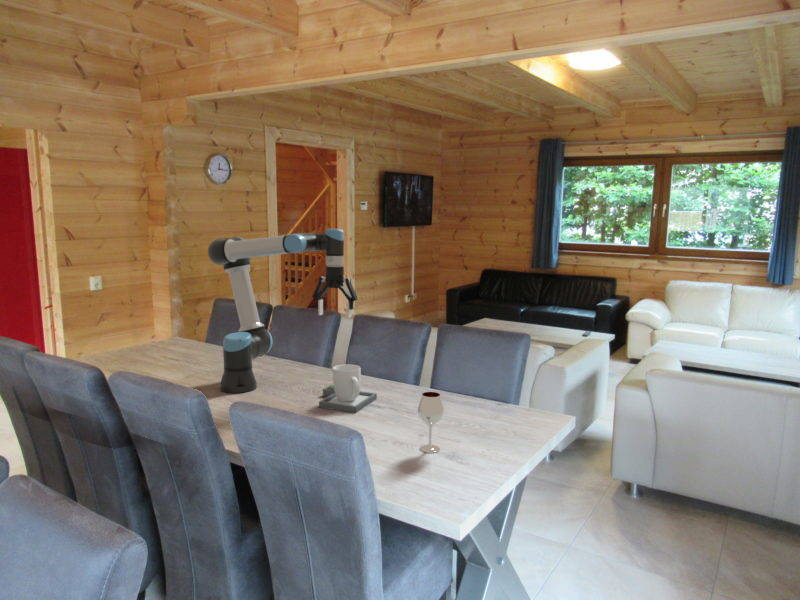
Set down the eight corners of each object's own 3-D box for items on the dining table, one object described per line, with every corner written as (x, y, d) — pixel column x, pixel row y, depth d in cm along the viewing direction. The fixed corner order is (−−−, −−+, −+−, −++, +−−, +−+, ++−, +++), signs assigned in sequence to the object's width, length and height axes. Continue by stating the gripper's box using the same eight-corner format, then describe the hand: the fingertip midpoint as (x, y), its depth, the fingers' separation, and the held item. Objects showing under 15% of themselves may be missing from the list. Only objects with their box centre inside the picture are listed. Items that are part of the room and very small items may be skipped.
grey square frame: (322, 396, 240) (322, 389, 240) (331, 391, 246) (331, 384, 246) (338, 398, 237) (338, 391, 237) (345, 393, 244) (345, 386, 243)
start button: (327, 391, 241) (327, 385, 240) (332, 388, 244) (332, 383, 244) (336, 392, 239) (336, 387, 239) (341, 389, 243) (341, 384, 242)
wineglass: (415, 444, 190) (416, 390, 187) (440, 444, 190) (441, 390, 188) (418, 454, 182) (419, 398, 179) (444, 453, 182) (446, 398, 180)
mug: (370, 403, 228) (370, 371, 226) (345, 408, 222) (345, 374, 220) (352, 393, 240) (352, 362, 238) (328, 397, 234) (328, 366, 232)
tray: (319, 407, 226) (318, 401, 226) (341, 393, 243) (341, 388, 243) (356, 412, 220) (356, 407, 220) (376, 398, 238) (376, 393, 237)
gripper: (304, 265, 245) (304, 315, 247) (357, 267, 236) (357, 319, 238) (313, 264, 252) (313, 312, 254) (365, 266, 242) (365, 316, 245)
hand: (334, 316), depth 246 cm, fingers open, 13 cm apart
